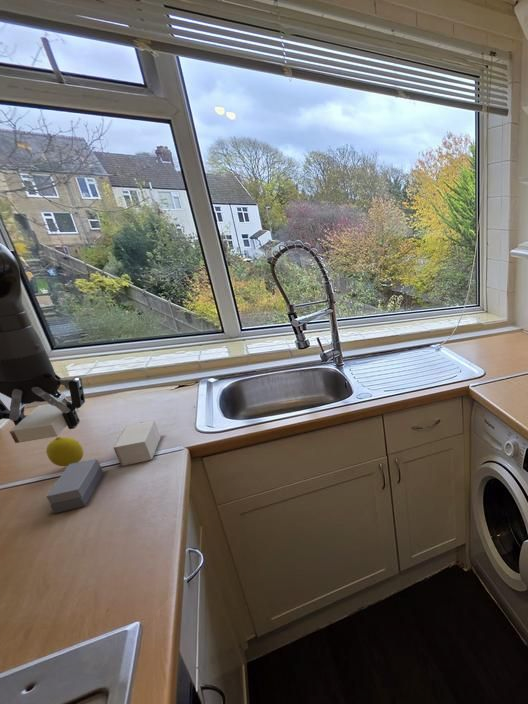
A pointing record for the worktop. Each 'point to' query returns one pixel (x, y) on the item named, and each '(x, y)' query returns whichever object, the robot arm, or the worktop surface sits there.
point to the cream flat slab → (40, 424)
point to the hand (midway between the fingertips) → (52, 430)
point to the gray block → (75, 485)
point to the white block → (137, 443)
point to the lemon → (64, 451)
